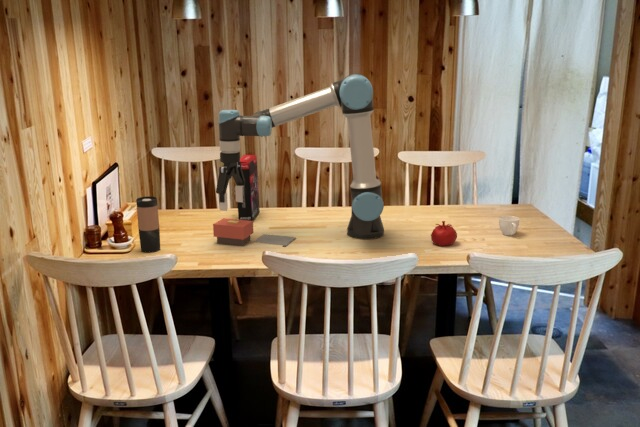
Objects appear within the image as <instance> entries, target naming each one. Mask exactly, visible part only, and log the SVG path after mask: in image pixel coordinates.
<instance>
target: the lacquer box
mask: <svg viewBox="0 0 640 427" xmlns="http://www.w3.org/2000/svg"><path fill="white" fill-rule="evenodd" d="M249 242H251V235H250V236H248V237H247V238H246V239H244V240H242V239H232V238H223V237H216V243H217V244H222V245H230V246H238V247H244V246H245V245H247V244H249Z"/></svg>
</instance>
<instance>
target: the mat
mask: <svg viewBox="0 0 640 427" xmlns="http://www.w3.org/2000/svg"><path fill="white" fill-rule="evenodd" d="M296 239H297V237H296V236H295V237H294V236H287V235H276V234H267V233H266V234H265V233H263V234H262V235H260V236H259V237H258V238H256V239H255V240H253V241H252V243H258V244H268V245H274V246H275V245H276V246H281V247H282V248H283V247H284V248H287V247H288V246H289V245H290V244H291V243H293V241H295V240H296Z"/></svg>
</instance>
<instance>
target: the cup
mask: <svg viewBox="0 0 640 427" xmlns="http://www.w3.org/2000/svg"><path fill="white" fill-rule="evenodd" d="M498 219H499V221H498V225H499V229H500V231H501V234H502V235H503V236H507V237H511V236H512V237H513V236H515V233H517V231H518V229H519V225H520V218H519V217H518V216H512V215H502V216H500V217H499V218H498Z"/></svg>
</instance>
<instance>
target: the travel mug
mask: <svg viewBox="0 0 640 427" xmlns="http://www.w3.org/2000/svg"><path fill="white" fill-rule="evenodd" d="M157 198H158V197H156V196H147V195H146V196H141V197H137V198H136V200H135V202H136V212H137V215H136V216H137V226H138V235H139V236H138V237H139V244H140V250H141V252H142V253H146V254H147V253H149V254H150V253H156V252H159V251H160V250H161V235H160V233H161V232H160V230H161V229H160V220H159V219H160V218H159V207H158V199H157Z"/></svg>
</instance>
